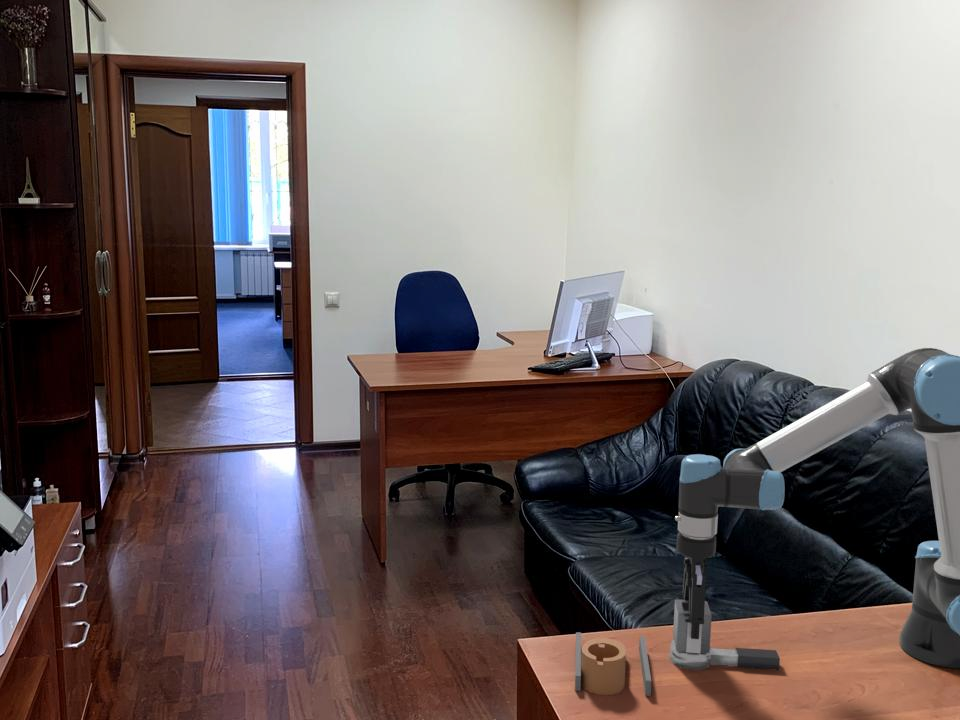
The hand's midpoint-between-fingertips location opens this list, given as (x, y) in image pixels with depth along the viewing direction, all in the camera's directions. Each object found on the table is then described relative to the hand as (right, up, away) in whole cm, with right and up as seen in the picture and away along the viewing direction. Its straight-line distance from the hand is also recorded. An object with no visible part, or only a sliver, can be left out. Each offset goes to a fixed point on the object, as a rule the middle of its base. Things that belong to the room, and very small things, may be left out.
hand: (690, 643), depth 176 cm
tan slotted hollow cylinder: (-18, -5, -4) cm, 19 cm away
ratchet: (+6, -4, 0) cm, 7 cm away
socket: (0, 0, 0) cm, 0 cm away
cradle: (-17, -4, -4) cm, 17 cm away
